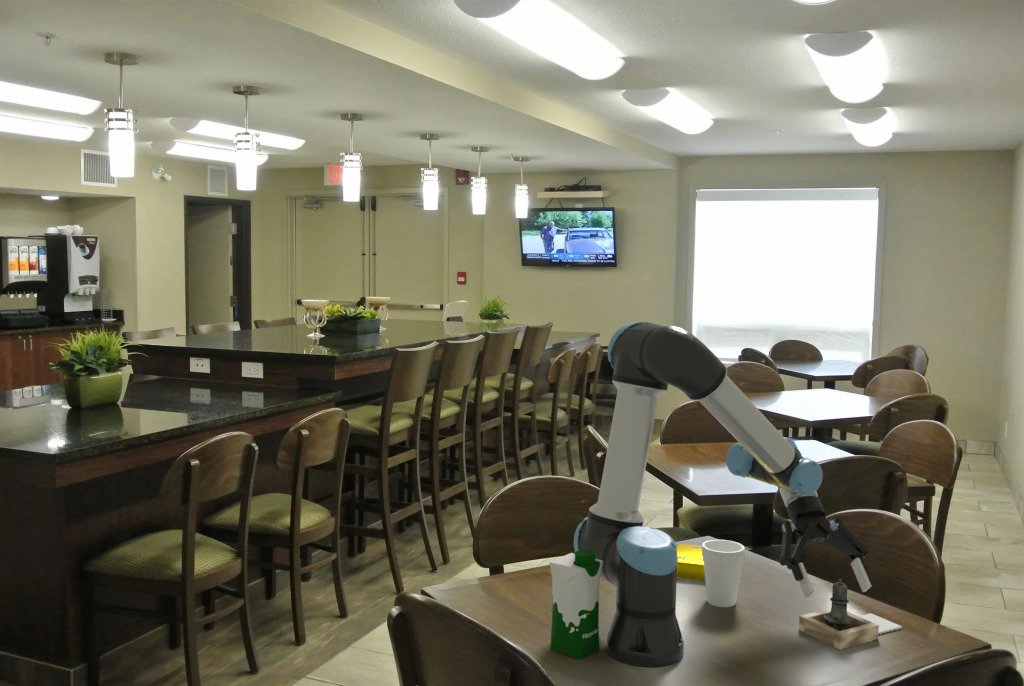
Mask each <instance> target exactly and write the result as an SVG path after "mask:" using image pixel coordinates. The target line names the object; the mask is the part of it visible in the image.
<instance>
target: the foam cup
mask: <svg viewBox="0 0 1024 686" xmlns="http://www.w3.org/2000/svg"><path fill="white" fill-rule="evenodd" d="M701 546H702V557H703V563H704V573H705V581H704V582H705V591H706V600H707V601H706V602H707V603H708V604H710V605H712V606H715V607H719V608H729V607H730V608H731V607H734V606H735V605H736V602H737V598H738V593H739V586H740V582H741V581H740V580H741V575H742V569H743V563H744V560H745V551H746V550H745V546H744V545H743V544H742V543H740V542H736V541H733V540H726V539H710V540H705V541H703V542H702V545H701Z"/></svg>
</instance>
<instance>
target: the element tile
mask: <svg viewBox="0 0 1024 686" xmlns="http://www.w3.org/2000/svg"><path fill="white" fill-rule="evenodd" d="M676 547H677V557H678V564H677V577H679V578H678V579H686V578H688V579H687V580H695V579H698V580H697V581H704V580H705V573H704V563H703V557H702V545H695V544H683V543H679V544H676Z"/></svg>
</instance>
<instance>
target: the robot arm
mask: <svg viewBox="0 0 1024 686" xmlns="http://www.w3.org/2000/svg"><path fill="white" fill-rule="evenodd" d="M607 346H608V347H607V359H608V362H609V363H610V366H611V367H612V369H613V373H612V374H613V375H612V381H611V382H612V384H613V385H614V387H615V388H616V389H617V390H616V391H617V393H616V399H615V405H614V410H613V415H612V421H611V428H610V432H609V437H608V442H607V449H606V454H605V459H604V465H603V471H602V476H601V483H600V488H599V492H598V498H597V502H596V503H594V504H593V505H592V506H590V507H589V509H588V512H587V516H586V517H585V518H583V520H582V521H581V522H579V523H578V525H577V527H576V528H575V529H576V530H575V531H574V536H573V548H574V553H575V552H576V551H579V550H590V551H593V552H595V559H599V560H602V561H603V565H602V571H601V576H600V578H602V579H604V580H605V581H607V582H609V583H610V584H612V585H614V586H615V587H616V591H615V594H616V595H615V596H616V598H615V600H616V603H615V606H616V607H615V613H614V616H613V618H612V621H611V625H610V627H609V631H608V633H607V635H606V651H607V653H608V654H609V655H610V656H611V657H613V658H614V659H616V660H618V661H620V662H623V663H625V664H630V665H632V666H633V665H635V666H640V667H663V666H667V665H668V666H669V665H672V664H675V663H676V662H679V660H681V659H682V658H683V657H684V654H685V653H684V649H685V645H684V644H685V643H684V642H685V641H684V639H683V634H682V631H681V629H680V625H679V622H678V618H677V615H676V612H677V610H676V609H677V608H676V603H677V580H678V579H677V564H678V557H677V547H676V546H677V544H676V541H675V540H674V539H673V537H671V536H670V534H668V533H666V532H664V531H663V530H660V529H657V528H651V527H648V526H644V521H645V518H644V516H643V515H642V514H641V513H640V511H639V507H640V502H641V494H642V490H643V485H644V478H645V474H646V473H645V472H646V468H647V463H648V457H649V452H650V445H651V440H652V435H653V429H654V425H655V423H654V422H655V417H656V412H657V406H658V400H659V398H661V396H662V395H664V394H665V393H667V391H668V388H669V387H668V386H669V385H670V386H672V387H674V388H676V389H678V390H679V391H681V392H682V393H684V394H685V395H686V397H687V398H688V399H690V400H691V401H694V402H695V401H697V402H699V403H700V404H701V405H702V406H703V407H704V408H706V410H707V411H708V412H709V413H710V414H711V415H712V416H713V417H714V418H715V419H716V420H717V421H718V422H719V423H720V424H721V426H723V427H724V428H725V429H726V431H727V432H728V433H730V435H732V437H734V439H735V440H736V441H737V442H736V443H734V444H732V445H731V447H729V448H728V451H727V454H726V460H725V461H726V466H727V470H728V471H729V473H731V474H732V475H733V476H735V477H736V476H738V477H741V478H744V479H745V478H750V479H754V480H757V481H760V482H763V483H766V484H769V485H771V486H775V487H777V488H778V491H779V494H780V496H781V499H782V501H783V503H784V506H785V507H786V511H787V514H788V517H789V519H790V521H789V520H785V521H784V522H783V524H782V525H781V526H780V530H781V534H782V539H781V547H780V548H781V549H780V556H779V565H781V566H786V568H787V569H788V570H791V572H792V575H793V578H794V580H795V581H796V582H799V584H800V587H801V590H802V592H803V596H804V597H805V598H809V597H810V596H811V595H813V593H814V592H815V591H814V588H813V586H812V582H811V581H810V577H809V576H808V573H807V570H806V568H805V566H804V563H803V562H799V561H800V559H801V556H802V553H803V551H804V549H805V546H806V544H807V542H808V543H814V542H817V543H821V542H825V544H829V545H830V546H832V547H833V548H834V549H836V550H837V551H839V552H840V553H841V554H843V555H844V556H845V557H847V558H848V559H849V560H851V562H850V566H851V567H852V571H853V573H854V575H855V577H856V579H857V582H858V584H859V587H860V589H861V592H862V593H865V592H867V591H868V590H869V589H870V588H871V587H872V584H871V581H870V579H869V576H868V572H869V571H868V568H867V566H866V564H865V561H864V559H865V558H866V557H867V556H868V555H869V553H870V551H869V550H868V549H867V548H866V547H865V546H864V545H863V544H862V542H861V541H860V540H858V539H857V538H856V537H855V536H854V534H853V533H852V532H851V531H850V530H849V529H848V528H847V527H846V526H845V524H844V523H843V520H842V519H841V518H840V517H839V516H838V517H836V518H834V519H832V520H829V519H828V518H827V517H826V514H825V513H826V512H825V508H824V507H823V504H822V502H821V499H820V498H819V497H818V496H819V495H818V489H819V488H820V486H821V484H822V482H823V476H824V474H823V469H822V467H821V465H820V464H819V463H818V462H817V461H815V460H812V459H811V458H809V457H804V456H802V453H801V451H800V450H799V448H798V446H797V444H796V442H795V440H793V439H791V438H789V437H784V436H783V435H782V434H781V432H780V431H779V430H778V429H777V428H776V427H775V426H774V425H773V424H772V423H771V421H770V420H769V419H767V417H766V416H765V415H764V414H763V413H762V412H761V411H760V409H758V407H757V406H756V405H755V404H754V403H753V402H752V401H751V400H750V399H749V398H748V397H747V396H746V394H745V393H744V392H743V391H742V390H741V389H740V388H739V387H738V385H736V384H735V383H734V382H733V380H732V379H731V378H730V377H729V376H728V369H727V366H726V365H725V363H723V362H722V361H721V359H719V357H718V356H716V354H714V353H713V351H711V349H710V348H709V347H708V346H707V345H706V344H704V343H703V341H701V340H700V338H698V337H697V336H695V335H694V334H693V333H691V332H690V331H688V330H687V329H685V328H682V327H680V326H676V325H670V324H659V323H652V322H649V321H639V322H635V321H634V322H629V323H626V324H624V325H623V326H621V327H620V328H619V329H617V330H616V331H615V332H614V334H613V335H612V336H611V338H610V341H609V343H608V345H607ZM793 532H795V533H797V534H798V535H799V537H798V539H797V541H796V542H797V543H796V546H795V548H794V550H793V552H792V554H791V550H792V542H793V541H792V540H793ZM828 535H829V536H828Z"/></svg>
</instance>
